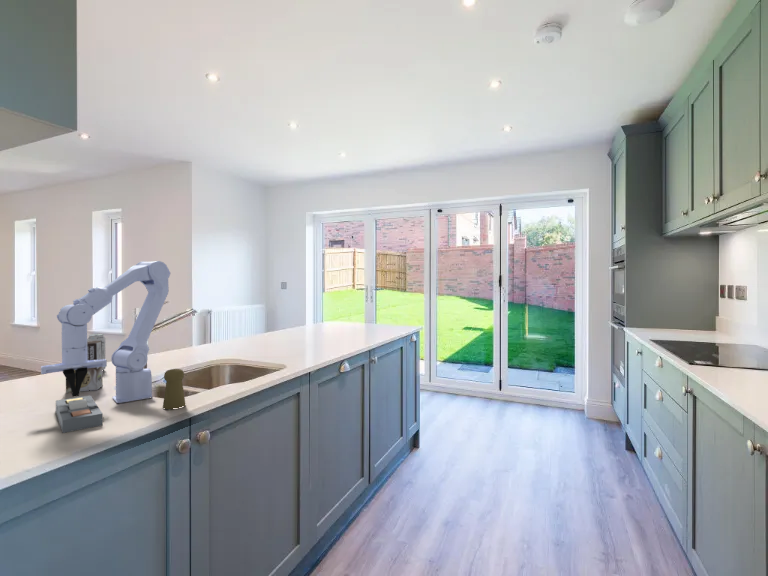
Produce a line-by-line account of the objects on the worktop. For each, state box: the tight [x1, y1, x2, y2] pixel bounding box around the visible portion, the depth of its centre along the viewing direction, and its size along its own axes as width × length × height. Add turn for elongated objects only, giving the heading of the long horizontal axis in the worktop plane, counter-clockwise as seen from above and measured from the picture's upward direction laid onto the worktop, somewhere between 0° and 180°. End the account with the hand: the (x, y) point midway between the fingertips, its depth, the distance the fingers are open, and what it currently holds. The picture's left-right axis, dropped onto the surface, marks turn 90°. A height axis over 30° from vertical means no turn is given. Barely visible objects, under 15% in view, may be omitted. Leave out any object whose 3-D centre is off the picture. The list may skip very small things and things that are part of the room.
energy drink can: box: [87, 333, 106, 371], centre depth 164 cm, size 6×6×15 cm
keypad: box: [55, 394, 104, 434], centre depth 108 cm, size 8×22×3 cm, turn 43°
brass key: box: [66, 397, 83, 404], centre depth 113 cm, size 4×4×3 cm
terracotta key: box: [71, 409, 91, 417], centre depth 103 cm, size 4×4×3 cm
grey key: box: [69, 399, 87, 410], centre depth 108 cm, size 4×4×3 cm
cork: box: [162, 368, 186, 409], centre depth 118 cm, size 6×6×11 cm
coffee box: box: [65, 340, 104, 393], centre depth 137 cm, size 9×6×16 cm
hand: (75, 395), depth 113 cm, fingers closed
